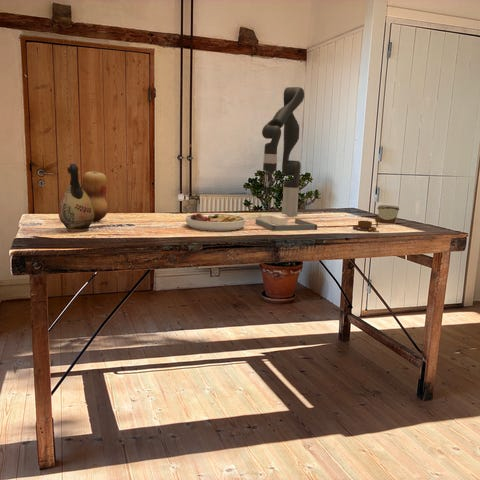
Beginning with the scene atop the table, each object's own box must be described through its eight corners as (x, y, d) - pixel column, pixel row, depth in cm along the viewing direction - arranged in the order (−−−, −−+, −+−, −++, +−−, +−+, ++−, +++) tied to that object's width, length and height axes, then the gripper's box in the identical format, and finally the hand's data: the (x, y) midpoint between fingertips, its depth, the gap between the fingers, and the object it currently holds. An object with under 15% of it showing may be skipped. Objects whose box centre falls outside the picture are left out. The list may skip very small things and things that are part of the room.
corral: (255, 223, 255) (255, 219, 255) (297, 222, 264) (297, 218, 264) (272, 230, 235) (272, 225, 235) (317, 229, 244) (317, 224, 243)
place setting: (345, 228, 256) (346, 217, 255) (376, 227, 263) (377, 216, 262) (363, 233, 240) (364, 222, 239) (397, 232, 247) (398, 221, 245)
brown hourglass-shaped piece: (97, 224, 234) (96, 172, 229) (74, 222, 238) (72, 171, 233) (113, 220, 247) (112, 172, 242) (91, 218, 251) (90, 170, 246)
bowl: (211, 221, 261) (211, 206, 259) (256, 227, 244) (257, 212, 243) (173, 227, 237) (173, 211, 235) (220, 235, 220) (221, 218, 218)
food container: (395, 222, 280) (397, 205, 278) (398, 224, 274) (399, 206, 272) (374, 221, 281) (375, 204, 279) (376, 223, 275) (377, 205, 273)
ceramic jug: (58, 228, 220) (55, 162, 214) (92, 227, 226) (91, 163, 220) (60, 234, 205) (57, 163, 199) (97, 233, 211) (96, 164, 205)
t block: (258, 221, 264) (259, 214, 263) (283, 221, 269) (283, 214, 268) (269, 225, 250) (269, 218, 250) (295, 225, 256) (295, 217, 255)
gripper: (259, 161, 270) (257, 192, 273) (268, 162, 258) (267, 194, 261) (271, 162, 273) (269, 192, 276) (281, 163, 261) (279, 194, 264)
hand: (268, 193), depth 269 cm, fingers closed
